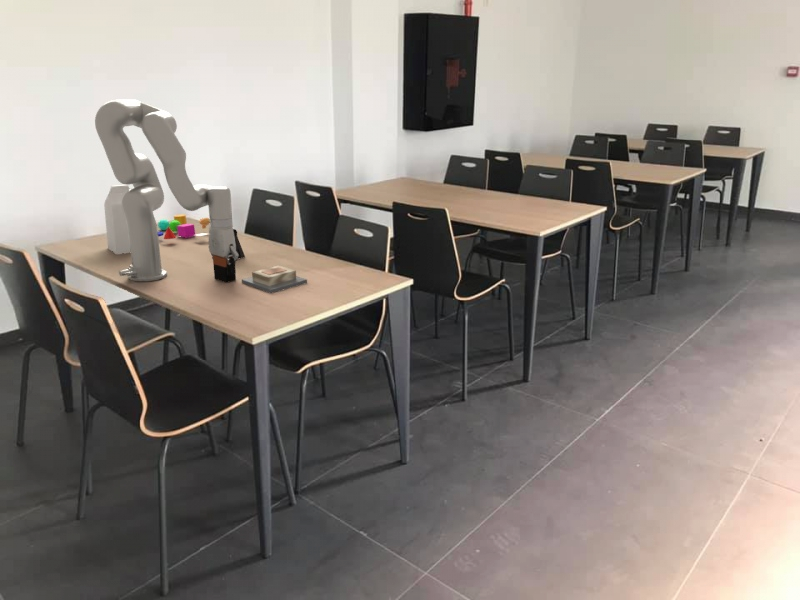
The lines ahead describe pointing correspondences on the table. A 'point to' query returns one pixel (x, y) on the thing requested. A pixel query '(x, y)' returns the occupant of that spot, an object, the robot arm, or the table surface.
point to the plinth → (274, 275)
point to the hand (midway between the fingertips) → (224, 272)
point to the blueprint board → (277, 286)
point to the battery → (222, 269)
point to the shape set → (180, 227)
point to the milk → (116, 220)
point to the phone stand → (238, 246)
